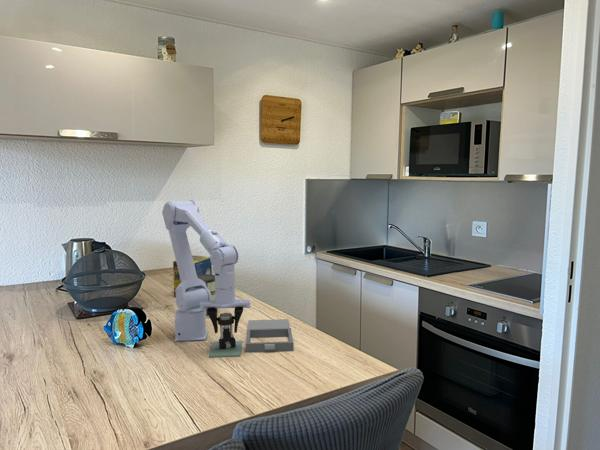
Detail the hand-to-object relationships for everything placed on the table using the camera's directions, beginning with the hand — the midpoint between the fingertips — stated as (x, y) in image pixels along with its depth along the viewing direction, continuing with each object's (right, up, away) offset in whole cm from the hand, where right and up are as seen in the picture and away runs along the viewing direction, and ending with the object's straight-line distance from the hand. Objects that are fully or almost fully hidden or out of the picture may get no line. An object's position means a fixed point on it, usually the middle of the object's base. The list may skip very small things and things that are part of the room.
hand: (225, 331), depth 136 cm
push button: (0, -5, +1) cm, 5 cm away
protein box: (-25, +1, +65) cm, 69 cm away
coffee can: (-14, -2, +35) cm, 38 cm away
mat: (0, -5, +1) cm, 6 cm away
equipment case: (+12, -4, +12) cm, 17 cm away
